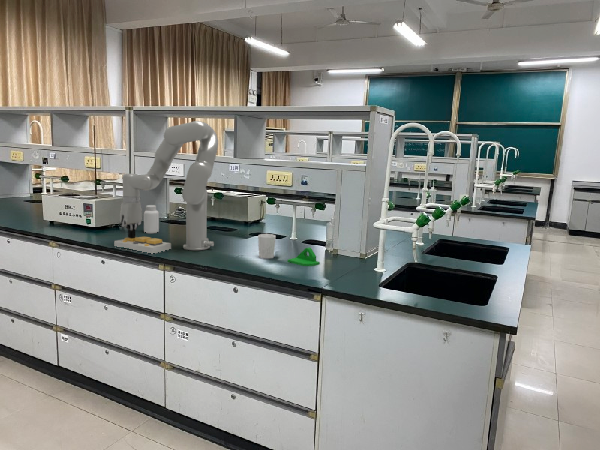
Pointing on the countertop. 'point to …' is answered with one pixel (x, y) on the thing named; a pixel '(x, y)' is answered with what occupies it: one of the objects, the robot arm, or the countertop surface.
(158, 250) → the white flat piece
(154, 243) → the key
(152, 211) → the pill bottle
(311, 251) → the bracket
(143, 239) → the key
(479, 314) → the countertop surface
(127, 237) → the key
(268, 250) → the white cup
